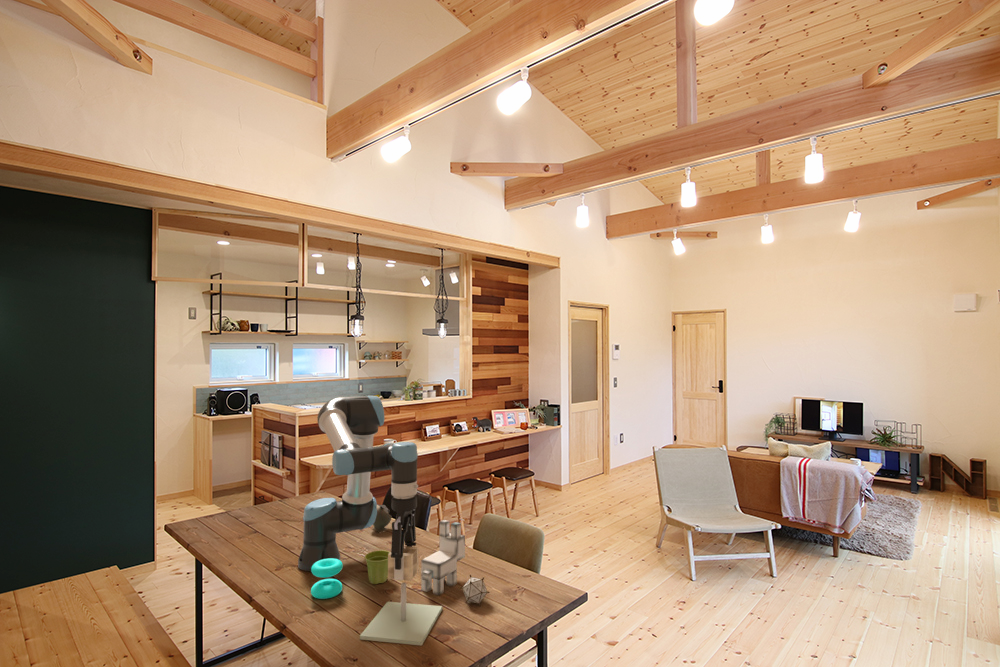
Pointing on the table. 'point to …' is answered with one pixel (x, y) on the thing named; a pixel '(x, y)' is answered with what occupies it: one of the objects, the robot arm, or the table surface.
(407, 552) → the bead
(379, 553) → the plant pot
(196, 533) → the table surface
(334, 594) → the donuts
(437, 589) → the toy llama
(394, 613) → the stand
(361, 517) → the robot arm
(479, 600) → the game die
